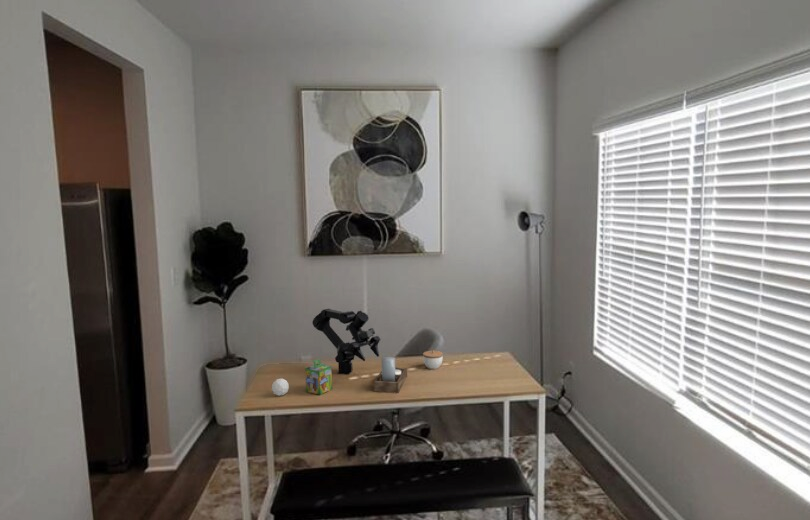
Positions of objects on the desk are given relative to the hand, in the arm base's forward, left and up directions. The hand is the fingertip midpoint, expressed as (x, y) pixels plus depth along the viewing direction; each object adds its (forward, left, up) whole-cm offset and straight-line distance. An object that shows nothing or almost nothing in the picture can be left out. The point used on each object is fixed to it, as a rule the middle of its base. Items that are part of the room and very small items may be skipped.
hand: (371, 358), depth 237 cm
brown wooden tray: (+10, -1, -12) cm, 16 cm away
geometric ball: (-38, -23, -12) cm, 46 cm away
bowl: (+10, +4, -11) cm, 15 cm away
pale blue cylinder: (+10, -7, -11) cm, 16 cm away
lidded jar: (+27, +27, -12) cm, 40 cm away
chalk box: (-22, -15, -12) cm, 29 cm away
